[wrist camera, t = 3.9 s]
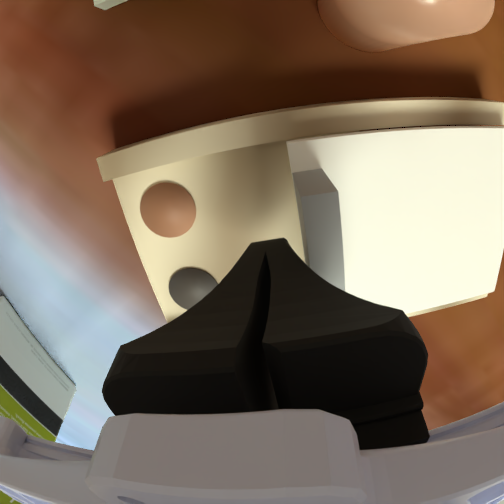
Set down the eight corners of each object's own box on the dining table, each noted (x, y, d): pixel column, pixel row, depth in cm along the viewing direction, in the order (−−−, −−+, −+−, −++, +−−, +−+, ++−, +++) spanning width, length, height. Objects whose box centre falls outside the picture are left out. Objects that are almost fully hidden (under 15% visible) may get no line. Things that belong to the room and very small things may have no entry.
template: (482, 98, 10) (505, 102, 9) (471, 278, 15) (486, 296, 14) (115, 149, 12) (96, 158, 11) (179, 327, 17) (172, 350, 16)
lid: (506, 126, 9) (554, 143, 6) (489, 285, 13) (518, 322, 10) (286, 141, 10) (294, 159, 8) (312, 323, 14) (320, 374, 11)
